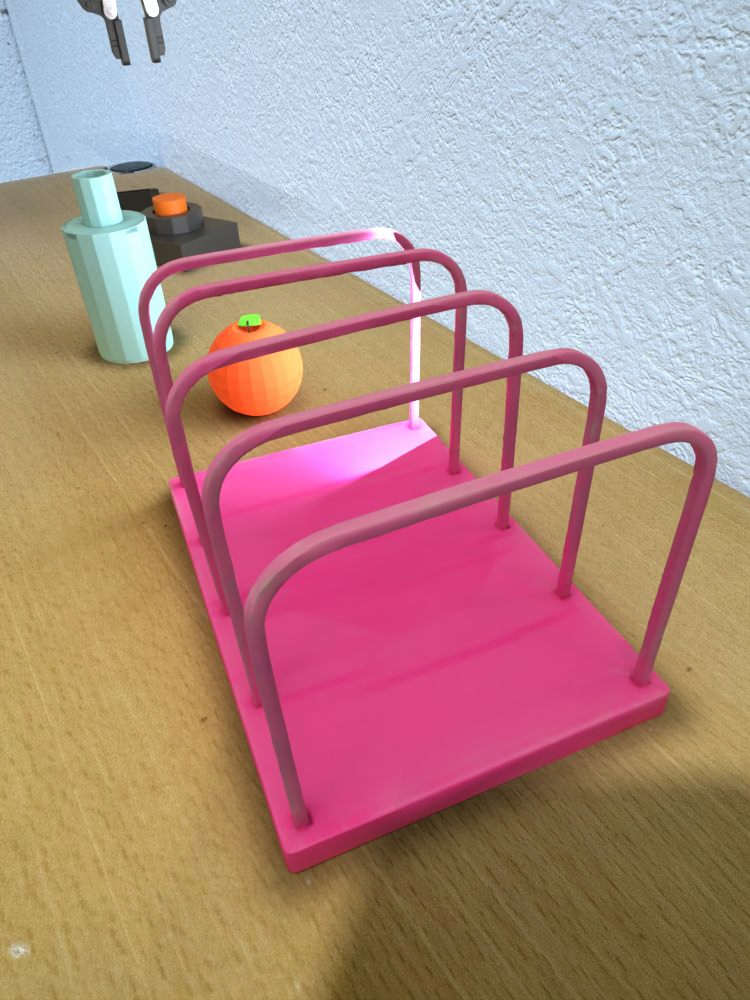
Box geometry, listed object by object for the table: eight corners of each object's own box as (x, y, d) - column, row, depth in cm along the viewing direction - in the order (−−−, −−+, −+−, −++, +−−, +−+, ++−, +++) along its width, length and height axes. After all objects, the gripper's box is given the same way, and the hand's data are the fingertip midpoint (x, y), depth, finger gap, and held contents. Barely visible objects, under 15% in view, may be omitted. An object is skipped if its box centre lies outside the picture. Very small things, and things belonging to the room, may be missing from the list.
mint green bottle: (85, 356, 61) (29, 179, 52) (140, 329, 65) (96, 160, 56) (135, 373, 58) (84, 188, 49) (189, 343, 62) (151, 168, 53)
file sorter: (290, 881, 26) (217, 578, 16) (172, 501, 44) (105, 252, 34) (666, 716, 31) (784, 408, 21) (420, 436, 49) (422, 203, 39)
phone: (157, 187, 101) (165, 215, 89) (159, 195, 101) (167, 224, 90) (101, 193, 99) (101, 222, 88) (103, 202, 100) (104, 232, 88)
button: (148, 215, 78) (145, 199, 77) (172, 207, 80) (169, 191, 79) (171, 220, 76) (168, 203, 75) (194, 211, 79) (191, 194, 78)
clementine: (220, 383, 56) (204, 299, 52) (306, 377, 56) (297, 292, 52) (211, 437, 50) (191, 346, 45) (307, 430, 50) (297, 338, 46)
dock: (118, 258, 81) (106, 214, 78) (174, 236, 86) (166, 194, 83) (186, 274, 76) (177, 227, 73) (241, 250, 82) (234, 205, 78)
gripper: (167, -170, 63) (203, 54, 74) (4, -172, 59) (66, 65, 70) (181, -183, 58) (217, 61, 68) (2, -186, 54) (70, 74, 65)
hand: (140, 62), depth 69 cm, fingers closed
